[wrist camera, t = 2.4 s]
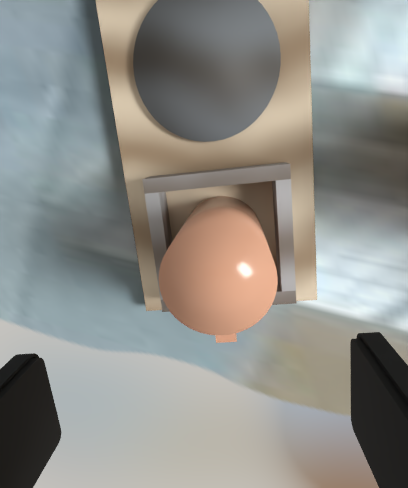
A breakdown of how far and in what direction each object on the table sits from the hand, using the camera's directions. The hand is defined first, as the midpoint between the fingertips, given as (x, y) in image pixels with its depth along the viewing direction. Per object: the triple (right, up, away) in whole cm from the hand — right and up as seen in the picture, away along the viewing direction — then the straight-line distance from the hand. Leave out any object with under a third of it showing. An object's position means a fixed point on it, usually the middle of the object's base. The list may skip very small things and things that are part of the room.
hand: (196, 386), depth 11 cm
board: (+1, +11, +16) cm, 20 cm away
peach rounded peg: (+2, +5, +17) cm, 18 cm away
